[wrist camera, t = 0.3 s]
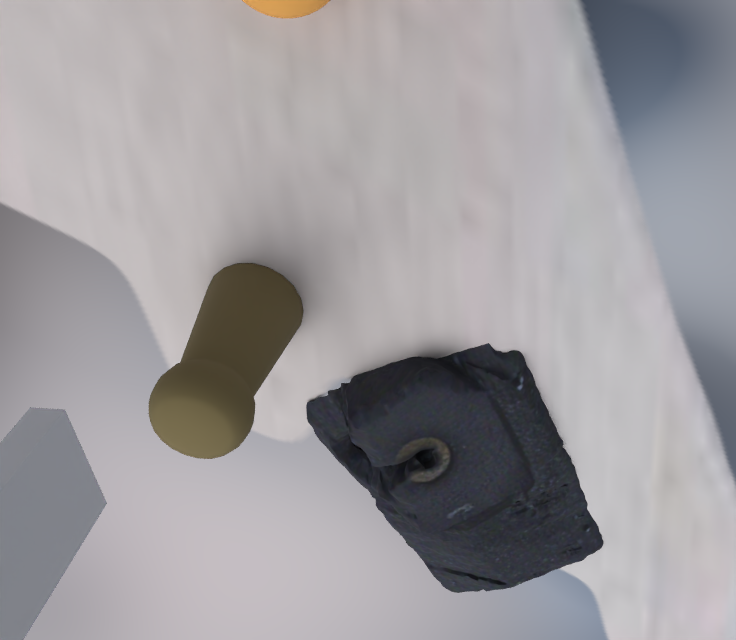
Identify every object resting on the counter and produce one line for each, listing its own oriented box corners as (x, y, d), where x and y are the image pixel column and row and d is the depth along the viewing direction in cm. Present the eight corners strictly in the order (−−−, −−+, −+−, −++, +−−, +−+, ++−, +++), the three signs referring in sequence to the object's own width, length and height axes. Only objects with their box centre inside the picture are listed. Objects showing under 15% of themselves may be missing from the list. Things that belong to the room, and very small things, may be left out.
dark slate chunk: (427, 575, 56) (422, 630, 52) (293, 384, 45) (275, 435, 41) (616, 544, 50) (626, 603, 46) (511, 318, 40) (513, 369, 36)
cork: (239, 244, 39) (164, 365, 30) (322, 305, 40) (275, 437, 32) (189, 306, 42) (108, 431, 33) (268, 360, 44) (211, 493, 35)
